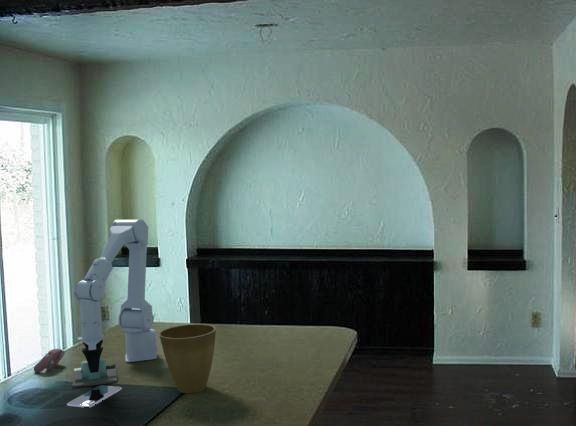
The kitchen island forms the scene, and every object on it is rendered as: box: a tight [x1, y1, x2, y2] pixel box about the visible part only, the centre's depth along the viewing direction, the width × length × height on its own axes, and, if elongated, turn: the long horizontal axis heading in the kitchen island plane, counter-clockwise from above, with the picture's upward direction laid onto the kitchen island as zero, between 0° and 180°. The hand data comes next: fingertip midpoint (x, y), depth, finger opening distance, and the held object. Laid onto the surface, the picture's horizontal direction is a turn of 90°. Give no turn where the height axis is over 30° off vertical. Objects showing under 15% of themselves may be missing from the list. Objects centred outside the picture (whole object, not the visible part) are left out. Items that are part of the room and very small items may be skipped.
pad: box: [71, 368, 118, 389], centre depth 190 cm, size 12×12×1 cm
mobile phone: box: [66, 384, 123, 408], centre depth 175 cm, size 8×1×15 cm
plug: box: [73, 358, 117, 380], centre depth 190 cm, size 11×4×4 cm, turn 106°
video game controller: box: [33, 347, 66, 373], centre depth 203 cm, size 10×5×7 cm, turn 169°
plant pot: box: [159, 323, 217, 394], centre depth 177 cm, size 15×15×16 cm
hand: (94, 368), depth 190 cm, fingers open, 7 cm apart
